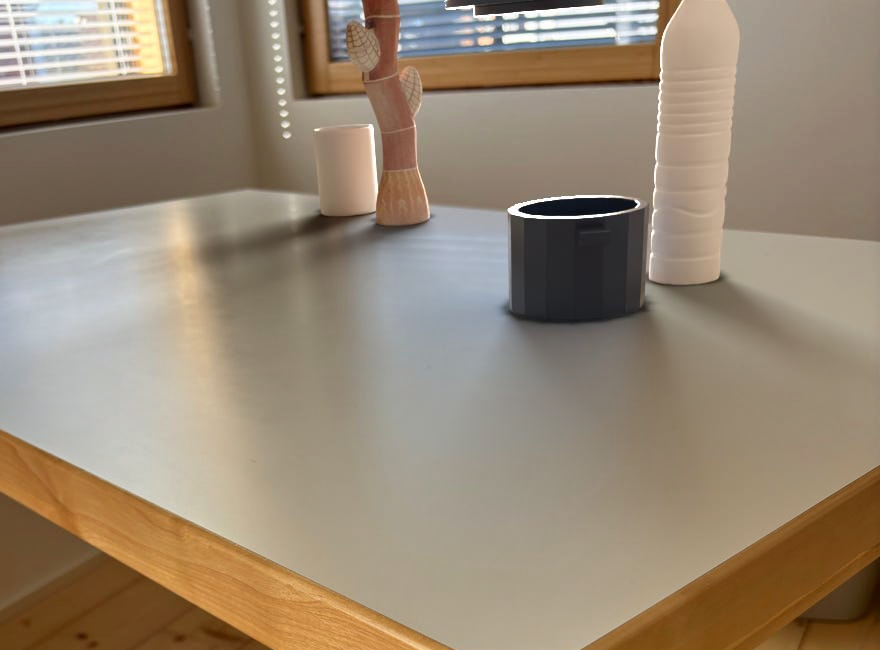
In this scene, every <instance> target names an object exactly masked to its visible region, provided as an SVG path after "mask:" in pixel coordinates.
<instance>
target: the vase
mask: <svg viewBox="0 0 880 650" xmlns="http://www.w3.org/2000/svg"><path fill="white" fill-rule="evenodd" d="M361 5H362V10H363V16H364V25H363V24H362V23H360V22H359V21H357V20H354V19H353V20H351V21H349V22H348V23H347V24H346V29H345V43H346V44H345V46H346V53H347V57H348V59H349V60H350V62H351V63H352V64H353V65H354V66H355V67H356V68H358V69H359V70H360V71H361V82H362V85H363V88H364V91H365V92H366V96H367V98H368V100H369V103H370V105H371V108H372V110H373V113H374V115H375V119H376V122H377V125H378V129H379V131H380V136H381V147H382V148H381V149H382V173H381V176H380V180H379V185H378V194H377V201H376V211H375V221H376V224H377V225H381V226H384V227H385V226H386V227H388V226H389V227H391V226H393V227H395V226H398V227H401V226H411V225H417V224H422V223H425V222H428V221H429V220H430V218H431V214H430V213H431V212H430V206H429V199H428V196H427V192H426V187H425V185H424V183H423V179H422V177H421V173H420V169H419V166H418V165H419V164H418V152H417V151H418V150H417V149H418V145H417V142H418V141H417V137H418V135H417V125H416V121H415V117H416V116H417V115H418V113H419V111H420V108H421V105H422V103H423V85H422V81H421V77H420V74H419V72H418V70H417V69H416V67H415V66H413V65H408V66H406V67H404V68H403V70H402V71H400V74H399V73H398V49H399V38H400V29H401V10H400V4H399V1H398V0H361Z"/></svg>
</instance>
